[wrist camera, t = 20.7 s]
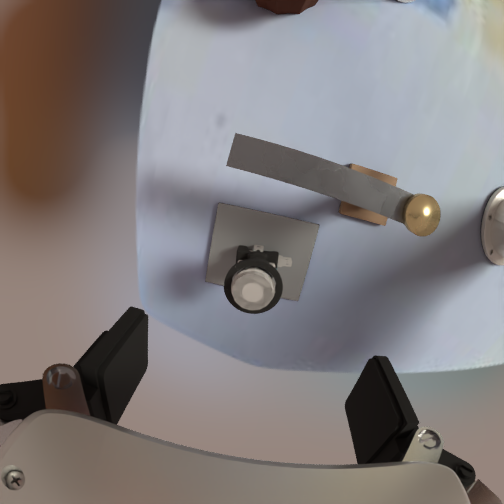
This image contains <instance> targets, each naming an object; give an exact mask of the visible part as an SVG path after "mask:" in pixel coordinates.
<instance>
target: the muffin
mask: <svg viewBox="0 0 504 504" xmlns="http://www.w3.org/2000/svg"><path fill="white" fill-rule="evenodd" d="M255 1H256V3H257V5H258V7H262V8H265V9H268V10H270V11H272V12H274V13H275V14H286V13H291V14H300V13H301V12H303V11H304V10H306V9H307V8H310V7H312V6H314V5H315V4H316V3H317V2H318V0H255Z"/></svg>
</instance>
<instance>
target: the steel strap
mask: <svg viewBox="0 0 504 504" xmlns="http://www.w3.org/2000/svg"><path fill="white" fill-rule="evenodd" d="M226 166H229V167H233V168H237V169H240V170H244V171H248V172H251V173H255V174H259V175H262V176H266V177H269V178H273V179H276V180H279V181H283V182H286V183H289V184H293V185H296V186H299V187H302V188H305V189H309V190H312V191H315V192H318V193H321V194H324V195H327V196H330V197H333V198H336V199H339V200H342V201H344V202H347V203H350V204H353V205H356V206H358V207H361V208H364V209H367V210H369V211H372V212H375V213H377V214H380V215H383V216H385V217H388V218H390V219H393V220H396V221H398V222H401V223H403V224H405V226H406V228H407V229H408V230H409V231H410V232H412V233H414V234H415V235H417V236H428V235H430V234H431V233H433V232H434V231H435V229H436V228H437V226H438V224H439V221H440V208H439V205H438V203H437V201H436V200H435V199H434V198H433V197H431V196H429V195H425V194H415V195H413V194H411V193H409V192H407V191H404V190H402V189H400V188H397V187H395V186H393V185H390V184H388V183H386V182H383V181H381V180H378V179H376V178H374V177H371V176H369V175H366V174H363V173H361V172H358V171H356V170H353V169H350V168H348V167H345V166H342V165H339V164H337V163H334V162H331V161H328V160H325V159H322V158H319V157H316V156H313V155H310V154H307V153H304V152H301V151H298V150H295V149H291V148H288V147H285V146H281V145H278V144H274V143H271V142H267V141H264V140H260V139H256V138H252V137H249V136H245V135H241V134H237V133H235V137H234V140H233V144H232V147H231V151H230V154H229V158H228V162H227V165H226Z"/></svg>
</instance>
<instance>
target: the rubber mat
mask: <svg viewBox="0 0 504 504" xmlns="http://www.w3.org/2000/svg"><path fill="white" fill-rule="evenodd" d="M318 229H319V224H315V223H311V222H306V221H302V220H298V219H293V218H289V217H285V216H280V215H276V214H271V213H267V212H262V211H257V210H253V209H248V208H243V207H238V206H233V205H229V204H224V203H218V208H217V214H216V219H215V225H214V231H213V236H212V242H211V248H210V254H209V260H208V267H207V273H206V279H205V281H206V282H210V283H214V284H219V285H223V286H224V281H225V277H226V275H227V273H228V271H229V270H230V269H231V267H232V266H234V265H235V264H236V253H237V249H238V246H239V245H243V246H247V248H248V249H252V250H254V245H262V246H264V247H263V251H277V252H278V253H279V255H281V256H283V257H289V258H292V259H291V260H292V266H291V267H287V266H282V267H277V271H278V272H279V274H280V276H281V278H282V283H283V291H282V295H281V298H285V299H290V300H295V301H298V300H299V296H300V293H301V290H302V286H303V283H304V280H305V276H306V273H307V269H308V266H309V262H310V259H311V255H312V252H313V248H314V244H315V241H316V237H317V233H318ZM258 247H259V246H258ZM286 260H288V259H286ZM286 265H288V264H286ZM236 275H237V272H236V273H235V275H234V276H233V278H232V281H233V279H234V277H235V276H236ZM273 282H274V285H275V286H276V282H275V280H274V278H273Z"/></svg>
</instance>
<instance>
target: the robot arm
mask: <svg viewBox="0 0 504 504" xmlns="http://www.w3.org/2000/svg"><path fill="white" fill-rule="evenodd" d="M481 240H482V246H483V249H484V252H485V254H486V256H487V258H488V259H489V260H490V261H491V262H493V263H495V264H497V265H504V187H501V188H499V189H498V190H497V191H495V192H494V194H493V195H492V196H491V198H490V199H489V201H488V203H487V206H486V208H485V211H484V215H483V220H482V227H481ZM147 366H148V315H146V314H145V312H144V310H142V309H138V308H134V307H130V308H129V309H128V310H127V311H126V312H125V313H124V314H123V315H122V316H121V317H120V319H119V320H118V321H117V322H116V323H115V324H114V325H113V327H112V328H111V329H110V330H109V331H104V332H103V333H102V334H101V335H100V336H99V338H98V339H97V340H96V341H95V342H94V343H93V344H92V345H91V347H90V348H89V349H88V350H87V352H86V353H85V354H84V355H83V356H82V357H81V358H80V359H79V361H78V362H77V363H76V364H75V365H74V366H73V367H72V366H70V365H67V364H54V365H52V366H50V367H48V368H47V369H46V370H45V371H44V373H43V378H42V379H40V380H33V381H25V382H17V383H8V384H1V385H0V504H502V503H501V500H500V499H499V498H498V497H497V496H496V495H495V494H494V493H493V492H492V491H491V490H490V489H489V488H488V487H487V486H485V485H484V484H483V483H482V482H481V481H480V480H479V479H478V480H476V481H475V476H476V475H475V471H474V468H473V467H472V466H471V465H470V464H469V463H467V462H466V461H464V460H462V459H460V458H458V457H456V456H455V455H453V454H451V453H449V452H447V451H445V450H444V449H443V444H444V442H443V438H442V436H441V434H439V432H438V431H437V430H435V429H433V428H431V427H421V428H418V426H417V425H418V424H419V421H418V419H417V416H416V414H415V412H414V410H413V408H412V406H411V404H410V401H409V399H408V397H407V395H406V393H405V391H404V389H403V387H402V385H401V383H400V381H399V379H398V377H397V375H396V373H395V371H394V369H393V367H392V365H391V363H390V361H389V359H388V358H387V357H386V356H373V358H370V359H369V360H368V362H367V364H366V366H365V368H364V369H363V371H362V373H361V375H360V377H359V379H358V381H357V383H356V384H355V386H354V388H353V390H352V391H351V393H350V395H349V396H348V398H347V400H346V402H345V410H346V415H347V418H348V423H349V427H350V431H351V436H352V440H353V444H354V449H355V454H356V458H357V463H358V464H353V465H352V464H351V465H314V464H294V463H280V462H271V461H261V460H254V459H247V458H241V457H235V456H228V455H223V454H218V453H213V452H208V451H204V450H199V449H195V448H191V447H187V446H183V445H178V444H175V443H172V442H168V441H164V440H161V439H158V438H154V437H151V436H148V435H144V434H141V433H139V432H136V431H133V430H130V429H127V428H124V427H121V426H118V425H117V423H118V421H119V419H120V418H121V416H122V414H123V412H124V410H125V408H126V406H127V405H128V402H129V401H130V399H131V397H132V395H133V393H134V392H135V390H136V388H137V386H138V384H139V383H140V381H141V379H142V377H143V375H144V374H145V372H146V369H147Z"/></svg>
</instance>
